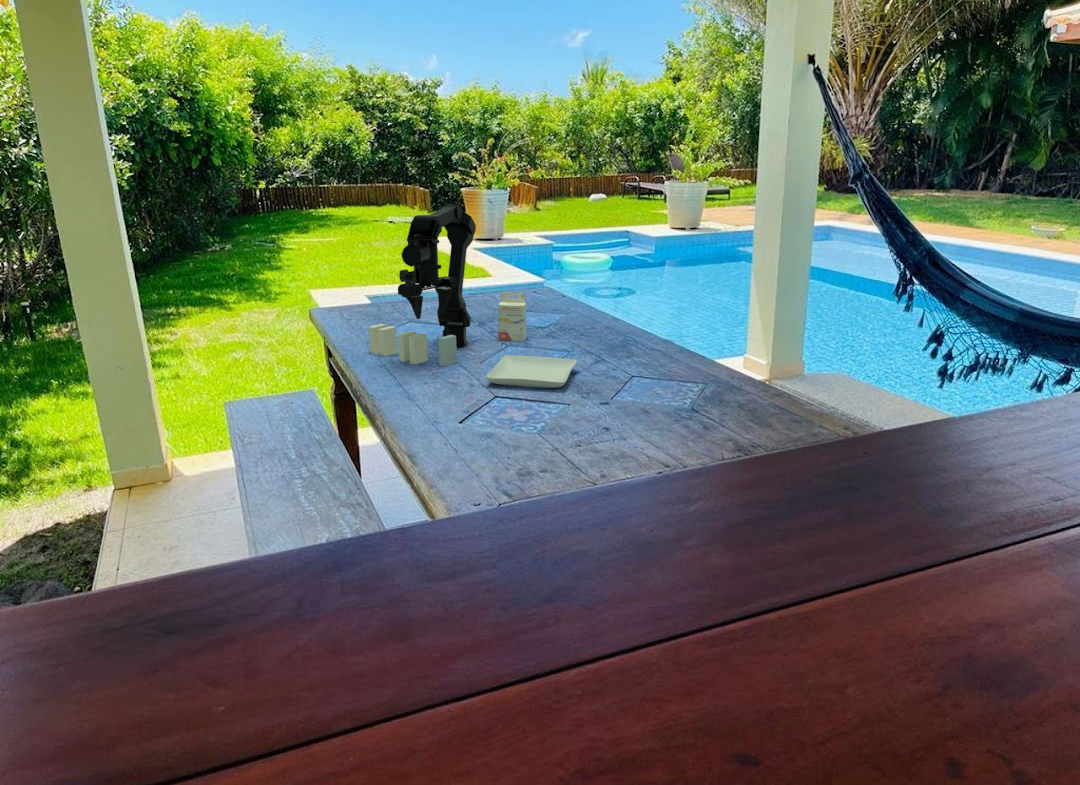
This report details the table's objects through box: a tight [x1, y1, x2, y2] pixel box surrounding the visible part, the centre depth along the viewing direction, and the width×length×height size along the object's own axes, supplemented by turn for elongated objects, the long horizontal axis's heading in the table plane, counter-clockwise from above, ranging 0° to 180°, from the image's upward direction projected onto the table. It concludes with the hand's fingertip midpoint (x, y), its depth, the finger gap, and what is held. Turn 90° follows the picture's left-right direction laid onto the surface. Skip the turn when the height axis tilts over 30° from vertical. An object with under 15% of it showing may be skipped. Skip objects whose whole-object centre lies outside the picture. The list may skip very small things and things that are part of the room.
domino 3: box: [397, 330, 417, 363], centre depth 223 cm, size 2×5×8 cm, turn 140°
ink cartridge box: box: [497, 292, 527, 342], centre depth 245 cm, size 9×5×15 cm, turn 84°
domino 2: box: [378, 325, 398, 357], centre depth 229 cm, size 2×5×8 cm, turn 140°
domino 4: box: [409, 332, 429, 366], centre depth 221 cm, size 2×5×8 cm, turn 140°
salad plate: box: [485, 354, 578, 389], centre depth 207 cm, size 21×21×3 cm
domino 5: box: [437, 335, 458, 367], centre depth 219 cm, size 2×5×8 cm, turn 140°
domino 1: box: [368, 323, 387, 355], centre depth 231 cm, size 2×5×8 cm, turn 140°
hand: (430, 316), depth 220 cm, fingers open, 9 cm apart
